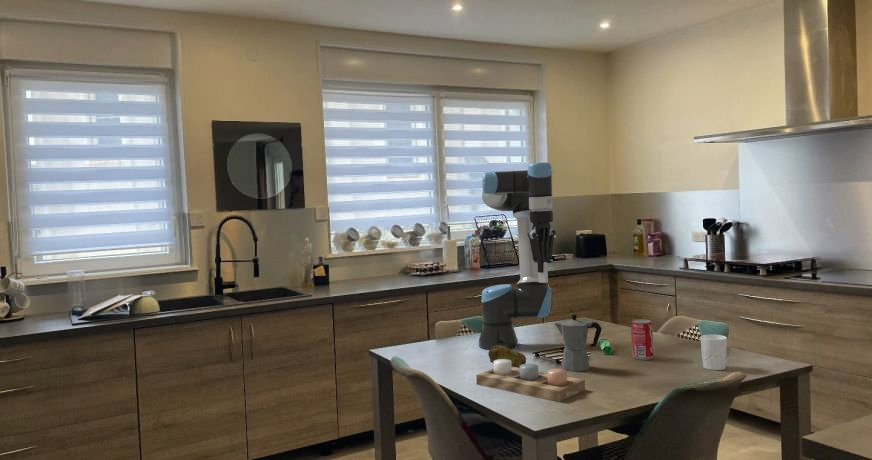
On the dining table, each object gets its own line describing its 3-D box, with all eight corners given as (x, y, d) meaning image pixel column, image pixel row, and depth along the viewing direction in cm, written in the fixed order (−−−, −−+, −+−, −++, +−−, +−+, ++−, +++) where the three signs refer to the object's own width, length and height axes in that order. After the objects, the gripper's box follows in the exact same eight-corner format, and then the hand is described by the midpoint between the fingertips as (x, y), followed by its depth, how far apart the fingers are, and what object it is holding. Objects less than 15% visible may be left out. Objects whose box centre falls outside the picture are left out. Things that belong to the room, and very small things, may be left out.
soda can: (654, 360, 226) (654, 322, 226) (632, 360, 228) (632, 322, 227) (652, 355, 233) (651, 318, 233) (631, 355, 235) (630, 318, 234)
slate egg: (516, 383, 201) (515, 366, 201) (527, 378, 205) (526, 362, 205) (531, 386, 197) (531, 369, 197) (542, 381, 202) (541, 365, 201)
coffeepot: (552, 370, 219) (551, 316, 218) (558, 363, 228) (557, 311, 227) (600, 373, 213) (599, 317, 212) (604, 366, 222) (603, 312, 221)
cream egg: (490, 377, 208) (489, 362, 208) (501, 373, 212) (500, 358, 212) (504, 380, 204) (504, 364, 204) (515, 376, 208) (514, 360, 208)
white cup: (715, 372, 210) (715, 340, 209) (695, 366, 217) (695, 336, 216) (732, 368, 213) (732, 337, 213) (712, 363, 220) (712, 333, 220)
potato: (528, 371, 219) (527, 347, 219) (489, 372, 219) (488, 348, 219) (525, 364, 227) (524, 341, 227) (488, 366, 228) (487, 343, 227)
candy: (597, 345, 249) (603, 336, 249) (604, 350, 249) (611, 341, 248) (600, 352, 237) (606, 343, 237) (608, 358, 237) (615, 348, 237)
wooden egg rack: (476, 384, 207) (476, 374, 206) (503, 374, 217) (503, 365, 217) (559, 401, 186) (559, 391, 186) (585, 389, 196) (584, 379, 196)
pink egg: (544, 388, 194) (543, 371, 194) (554, 384, 199) (554, 367, 198) (560, 391, 191) (560, 374, 190) (570, 387, 195) (570, 370, 194)
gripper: (539, 210, 209) (541, 285, 210) (561, 209, 218) (563, 280, 219) (519, 211, 214) (522, 284, 215) (542, 209, 223) (544, 279, 225)
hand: (543, 282), depth 217 cm, fingers closed
